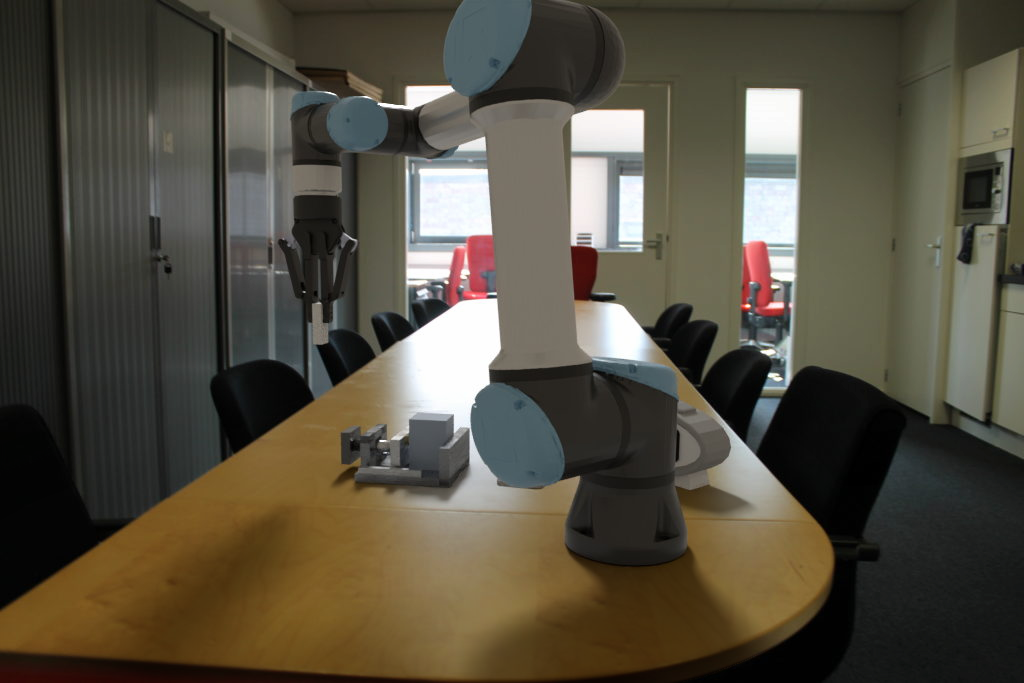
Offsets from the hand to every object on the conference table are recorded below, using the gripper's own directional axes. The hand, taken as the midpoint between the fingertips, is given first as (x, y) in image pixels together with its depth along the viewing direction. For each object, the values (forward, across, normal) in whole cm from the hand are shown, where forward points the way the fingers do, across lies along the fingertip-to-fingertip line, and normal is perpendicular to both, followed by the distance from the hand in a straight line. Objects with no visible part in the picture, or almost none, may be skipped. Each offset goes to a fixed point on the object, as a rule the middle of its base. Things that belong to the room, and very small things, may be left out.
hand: (320, 343), depth 134 cm
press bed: (+20, -16, 0) cm, 26 cm away
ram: (+19, -9, 0) cm, 21 cm away
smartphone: (+21, -34, -3) cm, 40 cm away
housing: (+19, -18, 0) cm, 27 cm away
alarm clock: (+21, -54, -6) cm, 58 cm away
